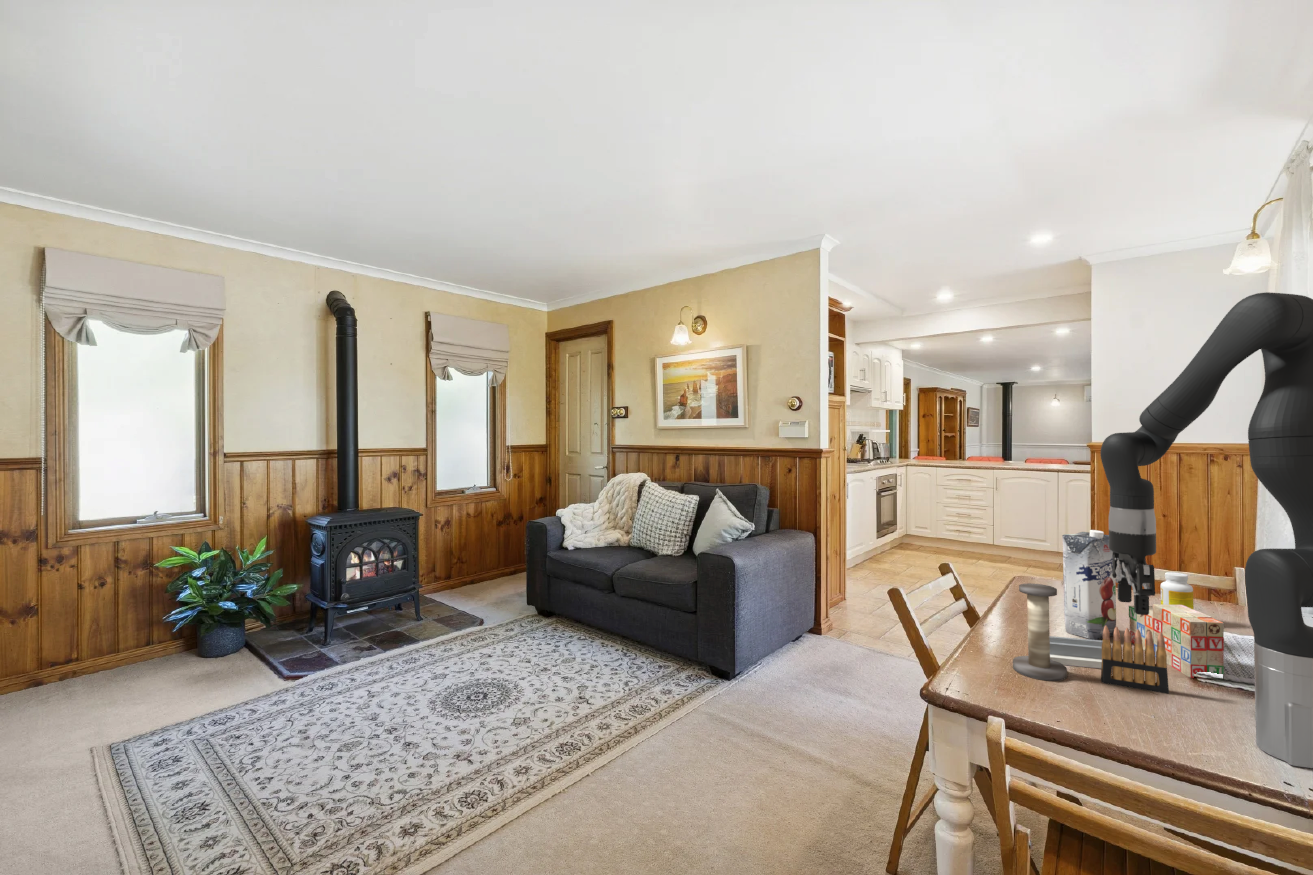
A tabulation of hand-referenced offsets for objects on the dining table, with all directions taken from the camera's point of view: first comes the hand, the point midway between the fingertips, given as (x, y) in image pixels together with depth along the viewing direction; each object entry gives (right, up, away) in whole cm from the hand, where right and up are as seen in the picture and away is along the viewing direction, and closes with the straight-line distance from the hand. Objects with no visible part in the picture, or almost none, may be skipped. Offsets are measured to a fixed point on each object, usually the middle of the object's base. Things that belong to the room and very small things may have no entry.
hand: (1132, 607), depth 119 cm
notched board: (-1, -16, +14) cm, 22 cm away
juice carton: (+14, -16, +30) cm, 37 cm away
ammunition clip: (0, -17, 0) cm, 16 cm away
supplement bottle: (+43, -15, +38) cm, 60 cm away
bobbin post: (-14, -17, +8) cm, 23 cm away
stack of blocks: (+20, -16, +13) cm, 29 cm away
